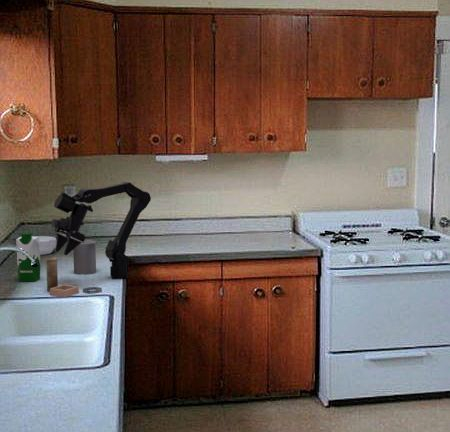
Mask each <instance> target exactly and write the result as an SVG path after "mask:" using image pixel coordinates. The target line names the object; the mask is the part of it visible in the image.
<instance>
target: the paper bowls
mask: <svg viewBox="0 0 450 432" xmlns="http://www.w3.org/2000/svg"><path fill="white" fill-rule="evenodd" d="M56 243H57V237H54V236H48V235H47V236H44V235H43V236H42V235H41V236H40V235H39V244H40V246H39V247H40V256H45V255H50V254H52V253H53V251H54V249H56Z"/></svg>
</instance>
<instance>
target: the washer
mask: <svg viewBox="0 0 450 432" xmlns="http://www.w3.org/2000/svg"><path fill="white" fill-rule="evenodd" d="M101 292H103V289H102V287H101V286H100V287H99V286H90V287H85V288H82V293H84V294H99V293H101Z"/></svg>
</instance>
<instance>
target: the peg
mask: <svg viewBox="0 0 450 432" xmlns="http://www.w3.org/2000/svg"><path fill="white" fill-rule="evenodd" d="M45 263H46V264H45V266H46V284H47V285H46V287H47V292H48V293H50V288H53V287H57V286H59V285H58V284H59V283H58V282H59V281H58V257H55V256H52V257H51V256H50V257H49V256H48V257H45Z"/></svg>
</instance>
